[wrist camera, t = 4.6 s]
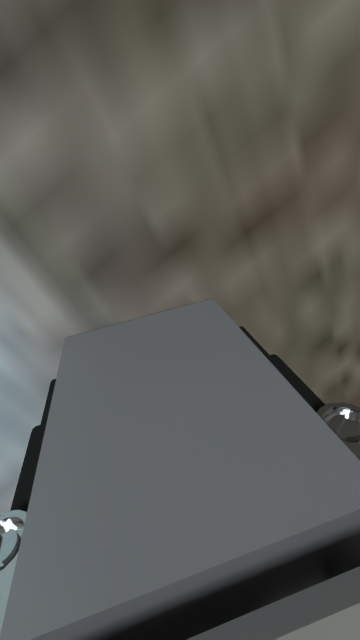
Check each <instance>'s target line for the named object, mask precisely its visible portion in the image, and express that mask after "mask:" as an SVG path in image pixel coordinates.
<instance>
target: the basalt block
mask: <svg viewBox="0 0 360 640" xmlns="http://www.w3.org/2000/svg"><path fill="white" fill-rule="evenodd" d="M359 566H360V461H359V459H358V458H357V457H356V456H355V455H354V454H353V453H352V452H351V451H350V449H349V448H348V447H347V446H346V445H345V444H344V443H343V442H342V441H341V440H340V438H339V437H338V436H337V435H336V434H335V433H334V432H333V431H332V430H331V428H330V427H329V426H328V425H327V424H326V423H325V422H324V421H323V420H322V419H321V417H320V416H319V415H318V414H317V413H316V412H315V411H314V410H313V409H312V407H311V406H310V405H309V404H308V403H307V402H306V401H305V400H304V399H303V398H302V396H301V395H300V394H299V393H298V392H297V391H296V390H295V389H294V388H293V386H292V385H291V384H290V383H289V382H288V381H287V380H286V379H285V378H284V377H283V375H282V374H281V373H280V372H279V371H278V370H277V369H276V368H275V367H274V366H273V364H272V363H271V362H270V361H269V360H268V359H267V358H266V357H265V356H264V354H263V353H262V352H261V351H260V350H259V349H258V348H257V347H256V346H255V345H254V343H253V342H252V341H251V340H250V339H249V338H248V337H247V336H246V335H245V333H244V332H243V331H242V330H241V329H240V328H239V327H238V326H237V325H236V324H235V322H234V321H233V320H232V319H231V318H230V317H229V316H228V315H227V314H226V312H225V311H224V310H223V309H222V308H221V307H220V306H219V305H218V304H217V303H216V301H215V300H214V299H209V300H205V301H201V302H198V303H194V304H190V305H186V306H183V307H179V308H175V309H171V310H168V311H164V312H160V313H156V314H153V315H149V316H145V317H141V318H138V319H134V320H130V321H127V322H123V323H119V324H115V325H112V326H108V327H104V328H100V329H97V330H93V331H89V332H85V333H82V334H78V335H74V336H70V337H67V338H65V342H64V346H63V351H62V356H61V360H60V365H59V369H58V374H57V378H56V383H55V387H54V392H53V396H52V401H51V406H50V410H49V415H48V419H47V424H46V428H45V433H44V437H43V442H42V447H41V451H40V456H39V460H38V465H37V469H36V474H35V478H34V483H33V487H32V492H31V497H30V501H29V506H28V510H27V515H26V519H25V524H24V528H23V533H22V537H21V542H20V547H19V551H18V556H17V560H16V565H15V569H14V574H13V578H12V583H11V588H10V592H9V597H8V601H7V606H6V610H5V615H4V619H3V624H2V628H1V633H0V640H187V639H189V638H191V637H194V636H196V635H198V634H201V633H203V632H205V631H208V630H210V629H212V628H215V627H217V626H219V625H222V624H224V623H226V622H229V621H231V620H234V619H236V618H238V617H241V616H243V615H245V614H248V613H250V612H252V611H255V610H257V609H259V608H262V607H264V606H266V605H269V604H271V603H274V602H276V601H278V600H281V599H283V598H285V597H288V596H290V595H292V594H295V593H297V592H299V591H302V590H304V589H307V588H309V587H311V586H314V585H316V584H319V583H321V582H323V581H326V580H328V579H331V578H333V577H335V576H338V575H340V574H342V573H345V572H347V571H350V570H352V569H354V568H357V567H359Z"/></svg>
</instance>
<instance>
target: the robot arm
mask: <svg viewBox="0 0 360 640" xmlns="http://www.w3.org/2000/svg"><path fill="white" fill-rule="evenodd" d="M239 328H240V329H241V330H242V331H243V332H244V333H245V335H246V336H247V337H248V338H249V339H250V340H251V341H252V342H253V343H254V345H255V346H256V347H257V348H258V349H259V350H260V351H261V352H262V353H263V354H264V356H265V357H266V358H267V359H268V360H269V361H270V362H271V363H272V364H273V366H274V367H275V368H276V369H277V370H278V371H279V372H280V373H281V374H282V375H283V377H284V378H285V379H286V380H287V381H288V382H289V383H290V384H291V385H292V386H293V388H294V389H295V390H296V391H297V392H298V393H299V394H300V395H301V396H302V398H303V399H304V400H305V401H306V402H307V403H308V404H309V405H310V406H311V407H312V409H313V410H314V411H315V412H316V413H317V414H318V415H319V416H320V417H321V419H322V420H323V421H324V422H325V423H326V424H327V425H328V426H329V427H330V428H331V430H332V431H333V432H334V433H335V434H336V435H337V436H338V437H339V438H340V440H341V441H342V442H343V443H344V444H345V445H346V446H347V447H348V448H349V449H350V451H351V452H352V453H353V454H354V455H355V456H356V457H357V458H358V459H359V461H360V408H359V407H357V406H355V405H352V404H347V403H330V404H326V405H325V404H324V403H323V402H322V401H321V400H320V399H319V398H318V397H317V396H316V395H315V394H314V393H313V392H312V391H311V390H310V389H309V388H308V387H307V386H306V385H305V384H304V383H303V382H302V380H301V379H300V378H299V377H298V376H297V375H296V374H295V373H294V372H293V371H292V370H291V369H290V368H289V367H288V366H287V365H286V364H285V363H284V362H283V361H282V360H281V359H280V358H279V357H278V356H277V355H274V354H273V355H269V354H268V353H267V352H266V351H265V350H264V349H263V348H262V347H261V346H260V345H259V343H258V342H257V341H256V340H255V339H254V338H253V337H252V336H251V335H250V334H249V333H248V332H247V331H246V330H245V328H244V327H242V326H240V327H239ZM55 383H56V379H54V380H52V381H51V384H50V388H49V392H48V396H47V400H46V405H45V409H44V413H43V417H42V421H41V425H39V426H35V427H34V428H33V430H32V433H31V436H30V440H29V443H28V447H27V451H26V455H25V458H24V462H23V466H22V469H21V473H20V477H19V480H18V484H17V488H16V492H15V495H14V499H13V503H12V506H11V510H10V511H8V512H6V513H3V514H1V515H0V633H1V628H2V624H3V619H4V615H5V610H6V606H7V601H8V597H9V592H10V588H11V583H12V578H13V574H14V569H15V565H16V560H17V556H18V551H19V547H20V542H21V537H22V533H23V528H24V524H25V519H26V515H27V510H28V506H29V501H30V497H31V492H32V487H33V483H34V478H35V474H36V469H37V465H38V460H39V456H40V451H41V447H42V442H43V437H44V433H45V428H46V424H47V419H48V415H49V410H50V406H51V401H52V396H53V392H54V387H55ZM187 640H360V566H359V567H357V568H354V569H352V570H350V571H347V572H345V573H342V574H340V575H338V576H335V577H333V578H331V579H328V580H326V581H323V582H321V583H319V584H316V585H314V586H311V587H309V588H307V589H304V590H302V591H299V592H297V593H295V594H292V595H290V596H288V597H285V598H283V599H281V600H278V601H276V602H274V603H271V604H269V605H266V606H264V607H262V608H259V609H257V610H255V611H252V612H250V613H248V614H245V615H243V616H241V617H238V618H236V619H234V620H231V621H229V622H226V623H224V624H222V625H219V626H217V627H215V628H212V629H210V630H208V631H205V632H203V633H201V634H198V635H196V636H194V637H191V638H189V639H187Z"/></svg>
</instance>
